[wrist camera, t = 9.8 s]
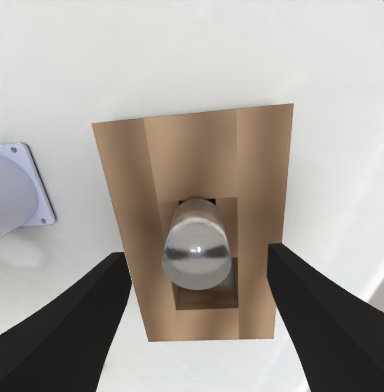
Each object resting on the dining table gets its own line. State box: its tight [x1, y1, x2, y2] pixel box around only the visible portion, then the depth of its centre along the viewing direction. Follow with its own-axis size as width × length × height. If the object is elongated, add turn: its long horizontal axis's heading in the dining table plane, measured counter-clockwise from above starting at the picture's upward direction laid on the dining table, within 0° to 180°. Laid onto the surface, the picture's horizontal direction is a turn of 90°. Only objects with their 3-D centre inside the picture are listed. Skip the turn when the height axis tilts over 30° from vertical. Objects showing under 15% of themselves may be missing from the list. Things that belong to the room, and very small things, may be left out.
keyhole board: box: [91, 103, 294, 342], centre depth 19 cm, size 13×22×4 cm, turn 5°
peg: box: [162, 198, 231, 290], centre depth 14 cm, size 5×5×8 cm
